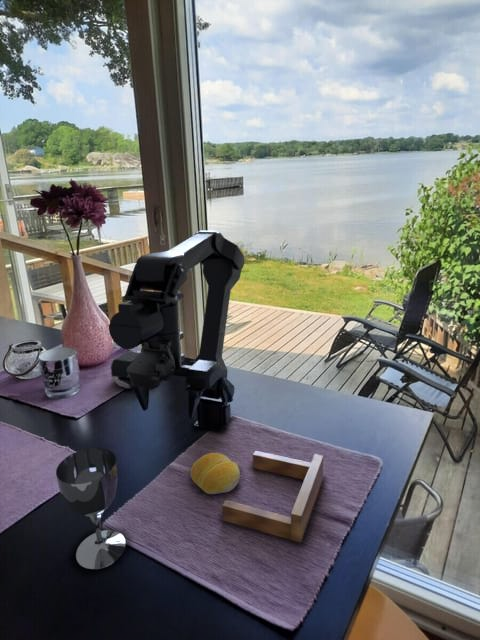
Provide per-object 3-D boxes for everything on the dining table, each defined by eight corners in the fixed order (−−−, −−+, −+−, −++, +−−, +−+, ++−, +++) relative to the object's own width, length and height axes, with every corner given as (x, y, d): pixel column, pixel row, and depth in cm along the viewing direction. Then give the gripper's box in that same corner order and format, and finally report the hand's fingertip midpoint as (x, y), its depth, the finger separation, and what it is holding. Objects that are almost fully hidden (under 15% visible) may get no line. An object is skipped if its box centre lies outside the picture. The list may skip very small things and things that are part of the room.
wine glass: (80, 530, 69) (65, 449, 64) (132, 526, 70) (120, 445, 65) (66, 574, 62) (47, 486, 57) (123, 569, 62) (110, 481, 57)
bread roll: (214, 503, 74) (213, 484, 73) (184, 477, 80) (182, 459, 79) (250, 481, 79) (250, 462, 78) (220, 458, 85) (219, 440, 84)
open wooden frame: (222, 520, 70) (221, 495, 69) (255, 463, 84) (255, 441, 82) (301, 543, 66) (301, 516, 64) (322, 479, 79) (323, 455, 77)
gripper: (86, 339, 70) (96, 427, 74) (193, 351, 64) (197, 446, 68) (125, 320, 80) (132, 398, 84) (221, 329, 74) (223, 413, 78)
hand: (168, 413), depth 79 cm, fingers open, 9 cm apart
